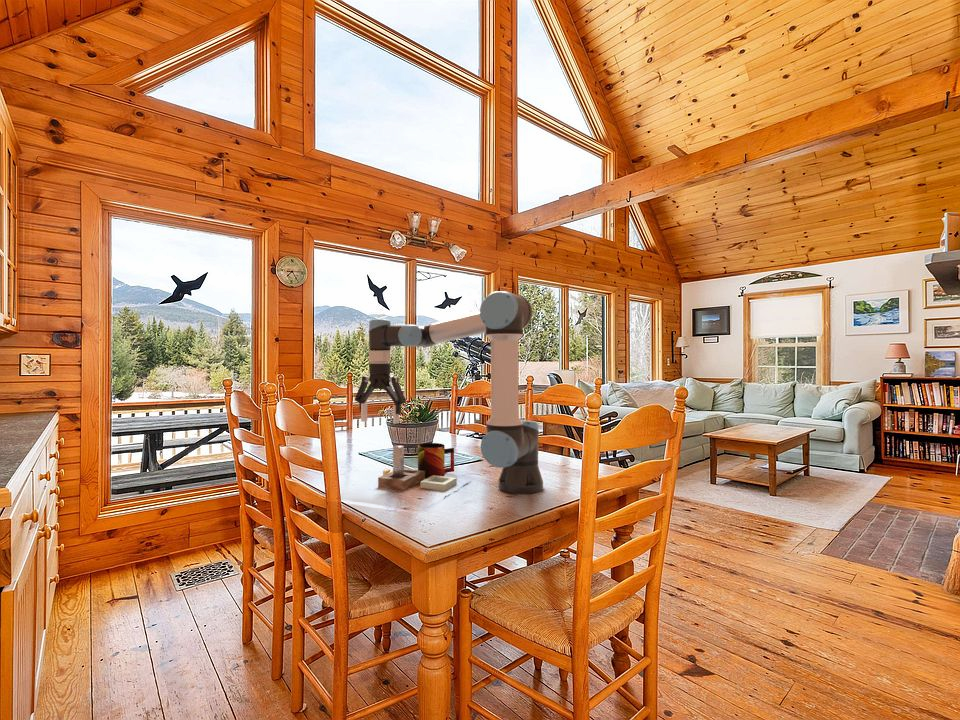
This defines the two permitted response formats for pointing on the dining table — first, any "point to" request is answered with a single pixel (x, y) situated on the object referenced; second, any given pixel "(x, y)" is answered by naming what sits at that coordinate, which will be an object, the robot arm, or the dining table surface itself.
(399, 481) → the socket block
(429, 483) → the cream square frame
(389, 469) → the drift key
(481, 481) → the dining table surface
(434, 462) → the mug
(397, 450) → the peg
